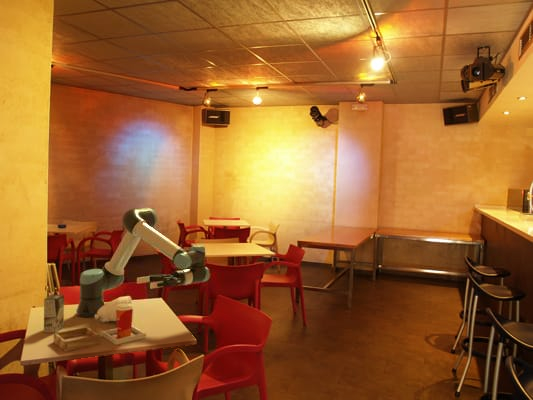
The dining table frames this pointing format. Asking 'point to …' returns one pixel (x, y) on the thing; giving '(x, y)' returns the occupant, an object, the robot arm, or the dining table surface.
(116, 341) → the tray
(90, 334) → the tray
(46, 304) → the coffee box
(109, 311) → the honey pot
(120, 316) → the coffee cup
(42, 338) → the dining table surface
